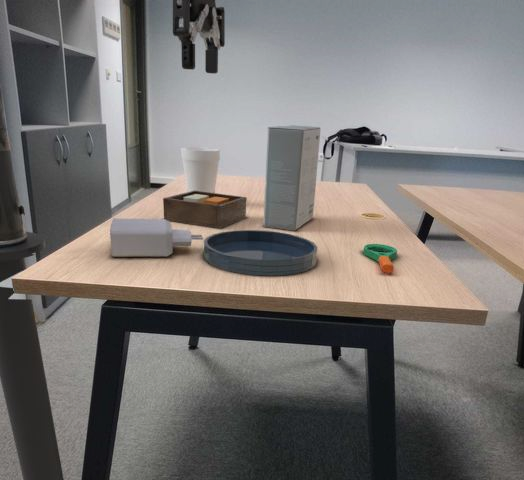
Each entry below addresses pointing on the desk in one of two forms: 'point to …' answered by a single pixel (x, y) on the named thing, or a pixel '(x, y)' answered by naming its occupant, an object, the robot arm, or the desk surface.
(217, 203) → the orange block
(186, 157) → the foam cup
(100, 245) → the desk surface
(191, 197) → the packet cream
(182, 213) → the holder
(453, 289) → the desk surface
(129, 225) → the charger
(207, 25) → the robot arm
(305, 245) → the dark blue round tray
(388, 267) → the magnifying glass
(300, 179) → the hard drive box
